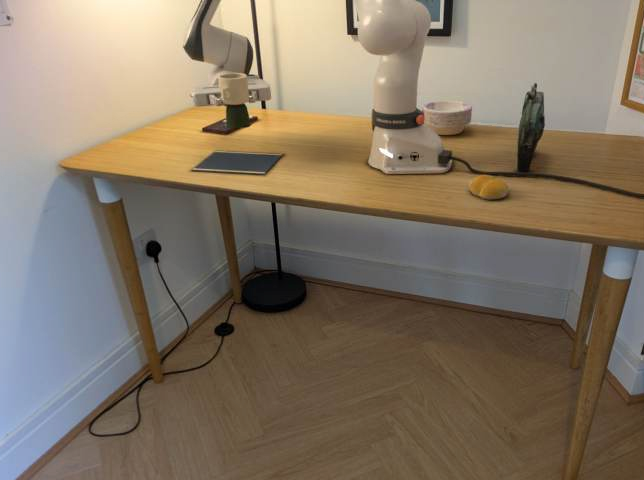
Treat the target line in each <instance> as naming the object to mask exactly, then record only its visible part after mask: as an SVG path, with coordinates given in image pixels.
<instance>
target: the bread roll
mask: <svg viewBox="0 0 644 480" xmlns="http://www.w3.org/2000/svg"><path fill="white" fill-rule="evenodd" d="M468 185H469V187H468V188H469V191H470V192H471V193H472V195H474V196H477V197H480V198H481V199H484V200H501V199H503V198H505V197H506V196H507V195H508V193H509V185H508V184H507V182H506V181H504V180H503V179H496V178H495V177H494V176H493V175H485V174H479V175H478V176H476V177H475V178H474V179H472V180H471V181H470V182H469V184H468Z"/></svg>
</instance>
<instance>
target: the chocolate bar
mask: <svg viewBox="0 0 644 480" xmlns="http://www.w3.org/2000/svg"><path fill="white" fill-rule="evenodd" d="M249 118H250V123H253V122H255V121H258V119H259V117H258V116H255V115H249ZM238 129H239V128H237V130H238ZM237 130H236V129H235V128H227V127H226V117H225V118H222V119H220V120H218V121H216V122H215V121H214V122H213V123H211V124H209V125H206V126H204V127H202V128H201V131H202V132H206V133H211V134H212V133H214V134H221V135H228V134H230V133H232V132H234V131H237Z"/></svg>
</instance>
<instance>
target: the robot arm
mask: <svg viewBox="0 0 644 480" xmlns="http://www.w3.org/2000/svg"><path fill="white" fill-rule="evenodd" d="M221 1H222V0H200V1H199V3H198V5H197V8H196V10H195V13H194V14H193V16H192V18H191V20H190V22H189V24H188V25H187V27H186V28H185V30H184V33H183V36H182V37H183V38H182V48H183V50H184V52H185V53H186V54H187V57H189V58H190V59H191V60H192V61H197V62H202V63H206V64H211V65H213V66H212V67H211V68H210V69H209V72H208V74H207V83H208V85H204V86H203V85H202V86H196V87H194V88H192V91H190V92H189V96H190V97H191V98H192V103H193V106H194V107H197V108H201V107H211V106H216V107H222V106H224V107H227V105H226V104H225V103H223V102H222V100H221V91H220V88H219V81H218V76H219V75H222V74H228V73H242V74H246V75H247V82H248V90H249V101H248V102H247V103H249V104H255V103H256V102H266V101H271V100H272V90H271V89H272V88H271V85H270V84H269V83H268V82H267V81H265V80H264V79H261V78H260V75H259V74H253V73H252V74H250V73H251V70H252V67H253V63H254V49H253V45H252V44H251V41H250V39H249V38H248V37H247V36H245V35H242V34H239V33H237V32H234V31H229V30H228V29H227V30H226V29H224V28H221V27H218V26H215V25H212V24H211V22H212V20H213V18H214V16H215V14H216V12H217V9H218V8H219V5H220V3H221ZM353 3H354V5H355V10H356V14H357V18H358V26H357V37H358V41H359V43H360V45H361V47H362V48H363V50H365V51H366V52H367V53H369V54H371V55H375V56H380V58H379V62H378V66H377V69H376V71H375V73H374V76H373V108H372V110H371V129H372V141H371V148H370V152H369V155H368V156H369V158H368V160H367V163H368V164H369V166H371V167H373V168H374V169H377V170H380V171H381V172H383V173H384V174H386V175H415V174H418V175H419V174H420V175H421V174H424V175H425V174H444V173H446V172H448V171H450V169H451V168H452V166H453V161H456V162H459V163H462V164H463V165H465V166H466V168H467V169H468V170H469V171H470V172H472V173H474V174H477V175H478V174H479V175H490V176H519V177H520V176H523V177H541V178H547V179H548V178H550V179H557V180H562V181H570V182H573V183H580V184H584V185H588V186H592V187H596V188H600V189H604V190H607V191H608V190H609V191H613V192H616V193H619V194H624V195H627V196H631V197H638V198H644V193H640V192H634V191H631V190H625V189H621V188H619V187H614V186H611V185H610V186H609V185H605V184H601V183H598V182H593V181H588V180H585V179H580V178H576V177H570V176H563V175H559V174H558V175H557V174H551V173H550V174H549V173H539V172H529V173H523V172H517V171H481V170H477V169H476V168H473V167H472V166H471V164H470V163H469V162H468V161H466V160H465V159H462V158H459V157H456V156H453V150H449V149H445V146H444V141H443V139H442V137H441V135H439V134H436V133H435V132H433V131H432V130H431V129H430V128H428V126H427V125H425V124H424V120H425V117H424V111H423V110H422V109H419V108H418V85H419V84H418V82H419V74H420V72H419V71H420V67H421V63H422V58H423V54H424V49H425V44H426V39H427V36H428V34H429V32H430V30H431V25H432V17H431V14H430V11H429V9H428V7H427V6H426V5H424V4H423V3H422V2H420V1H418V0H353ZM640 356H644V343H643V345H642V348H641V352H640Z"/></svg>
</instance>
